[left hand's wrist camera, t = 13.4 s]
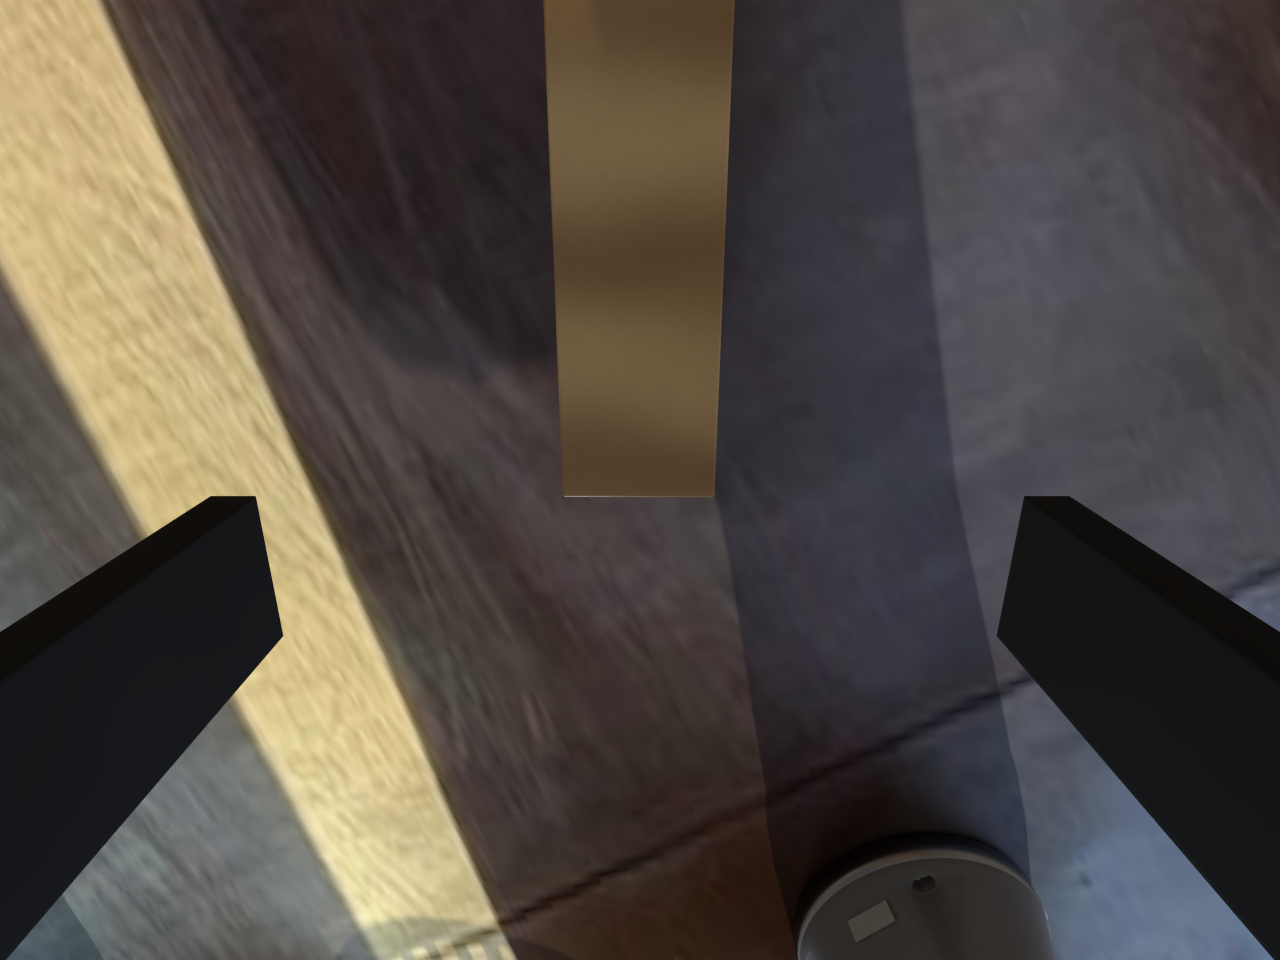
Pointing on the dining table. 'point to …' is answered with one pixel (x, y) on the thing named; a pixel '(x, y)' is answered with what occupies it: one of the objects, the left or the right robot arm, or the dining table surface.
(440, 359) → the dining table surface
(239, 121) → the dining table surface
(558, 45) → the bar
